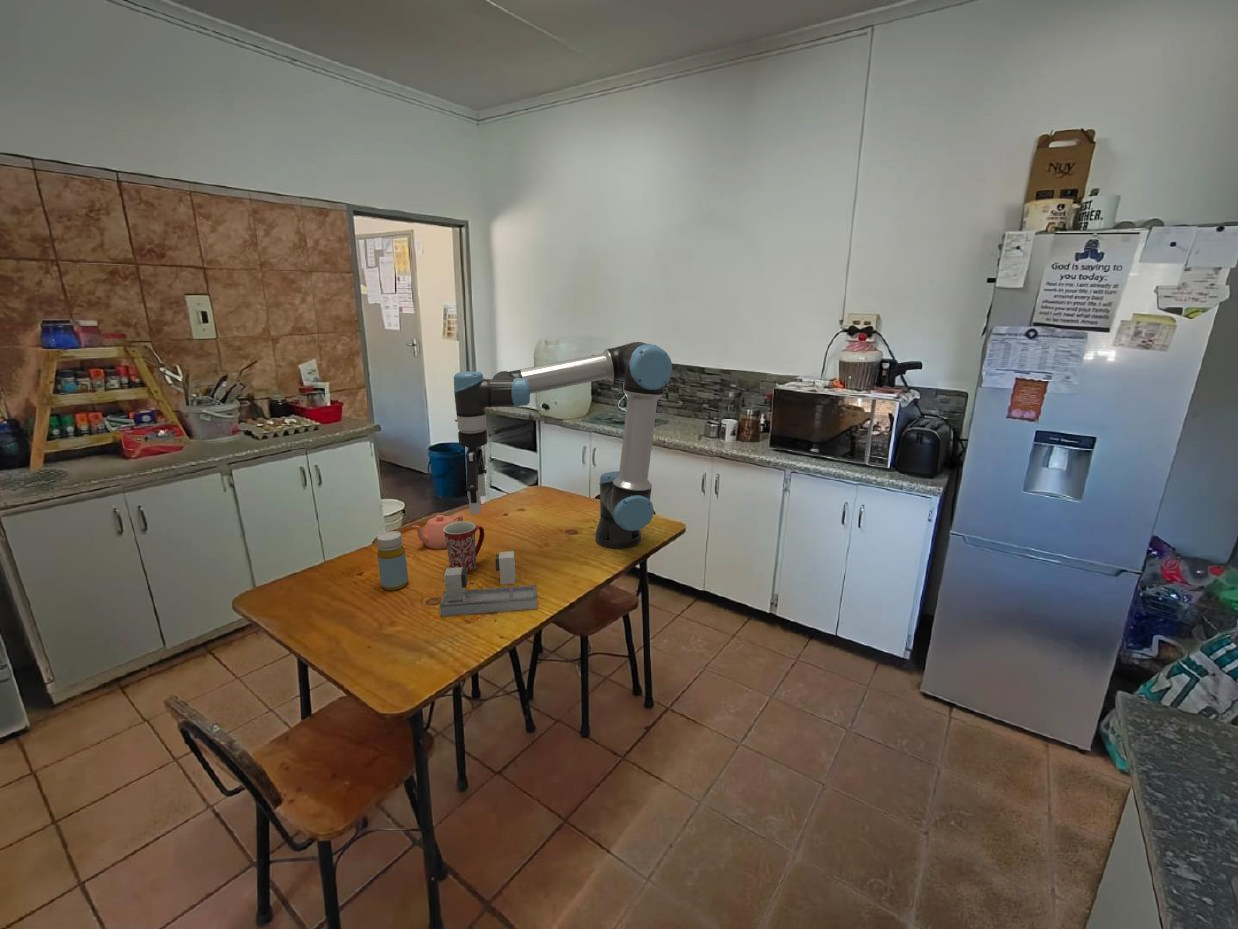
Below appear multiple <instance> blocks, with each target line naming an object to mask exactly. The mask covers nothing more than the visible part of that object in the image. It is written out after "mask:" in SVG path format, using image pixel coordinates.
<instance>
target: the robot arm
mask: <svg viewBox="0 0 1238 929" xmlns="http://www.w3.org/2000/svg"><path fill="white" fill-rule="evenodd" d="M672 374H673V363H672V359H671V357H670V356H669V354H668V353H667V352H666V351H665V350H664V349H663V348H662V347H660V346H658V345H656V344H651V343H645V342H643V341H642V342H641V341H635V342H634V341H633V342H629V343H626V344H623V345H619V346H615V347H611V348H606V349H604V350H603V352H602V353H599V354H594V355H593V354H592V355H589V356H582V357H578V358H573V359H567V360H562V361H557V362H552V363H547V364H541V365H536V366H530V367H525V368H520V369H516V370H510V371H508V370H501V371H499V372H496V373H495V374H494V375H493V377H492V378H491V379H488V378H484V377H483V376H484V375H483V373H482V372H481V371H460V372H456V373H455V374H454V376H453V392H454V402H455V403H454V404H455V411H456V418H454V422H456V424H457V430H458V432H457V436H458V444H459V446H461V447H463V448H465V447H466V448H467V449H466V452H465V463H466V467H465V468H466V488H465V487H464V492H467V493H468V495H467V497H468V506H469V514H470V515H474V514H476V515H478V514H481V500H480V497H481V498H482V497H486V496H487V495H486V494H487V493H486V482H485V474H487V469H485V468H486V467H485V463H484V462H485V461H484V456H483V448H482V447H483V446H485V445H486V444H488V432H487V431H488V430H486V429H487V428H488V426H487V413H486V408H504V407H505V408H506V407H507V408H510V407H517V408H518V407H523V406H528V405H529V404H530V400H531V394H537V393H541V392H542V393H543V392H546V391H553V390H556V389H561V388H567V387H572V386H577V385H581V384H586V383H592V382H597V381H602V380H609V381H610V382H614V381H620V380H621V381H623V387H622V389H623V392H624V394H625V395H626V396H627V401H626V407H625V408H626V409H625V410H626V411H625V418H624V427H623V436H622V445H621V454H620V464H619V470H618V471H609V472H605V473H603V474H601V475H600V477H599V483H598V484H599V507H600V508H599V509H600V510H599V514H600V516H599V517H600V518H599V521H598V523H597V526H596V529H595V532H594V534H595V535H594V536H595V538H594V539H595V540H594V541H595V542H596V544H598V545H599V546H601V547H604V548H608V549H615V550H616V549H617V550H618V549H620V550H621V549H623V550H624V549H628V548H633V547H635V546H637V545H638V544H639V543H641V541H642V533H641V529H644V528H645V527H646V526H647V525H649V524H650V523H651V521H652V519H653V517H654V510H655V509H654V505H653V502H652V500H651V495H652V488H653V486H652V485H653V484H652V483H651V482H650V481H649V480H648V478H649V472H650V471H649V470H650V463H651V456H652V455H651V453H652V445H653V440H654V439H653V438H654V431H655V422H656V413H657V407H658V401H659V399H661V398H662V397H663V396H664V394H665V386H666V384H667V383H668V382H669V381H670V379H671V377H672Z"/></svg>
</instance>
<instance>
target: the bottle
mask: <svg viewBox="0 0 1238 929" xmlns="http://www.w3.org/2000/svg"><path fill="white" fill-rule="evenodd" d="M376 541H377V547H378V550H377V560H378V568H379V569H378V570H379V576H380V585H381V587H382V588H383V589H384V590H386V591H393V592H394V591H398V590H402V589H403V588H405V587H406V586H407V585H408V583H409V572H408V565H407V555H406V550H405V547H404V545H403V537H402V533H401V532H400V531H397V530H395V531H394V530H391V531H385V532H382V533H379V534H378V535H377V537H376Z"/></svg>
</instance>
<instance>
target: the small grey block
mask: <svg viewBox="0 0 1238 929" xmlns="http://www.w3.org/2000/svg"><path fill="white" fill-rule="evenodd" d="M494 561H495V571H496V572H499V579H500V581H499V582H500V583H499V584H500V585H511V584H516V564H515V561H516V560H515V551H513V550H511V551H500V552H498V554H497V553H496V554H495V559H494Z"/></svg>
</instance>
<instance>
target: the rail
mask: <svg viewBox="0 0 1238 929" xmlns="http://www.w3.org/2000/svg"><path fill="white" fill-rule="evenodd" d="M443 575H444V576H443V577H444V579H443V580H444V587H445V591H443V595H442V596H441V599H440V604H439V612H440V617H449V616H451V617H452V616H463V615H464V616H465V615H474V614H489V613H501V612H502V613H503V612H514V611H525V610H527V611H528V610H536V609H538V591H537V584H529V585H517V586H504V587H489V588H478V589H477V588H475V589H465V588H467V586H468V582H469V581H468V574H467V569H463V567H457V568H450V567H446V569H445V572H444V574H443Z"/></svg>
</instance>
